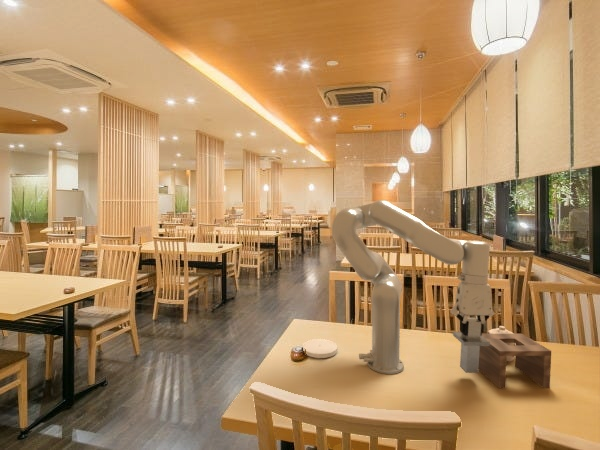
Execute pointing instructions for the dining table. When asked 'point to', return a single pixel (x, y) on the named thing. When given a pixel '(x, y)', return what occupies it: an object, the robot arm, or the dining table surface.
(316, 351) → the plastic lid
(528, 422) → the dining table surface
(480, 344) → the collared peg
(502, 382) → the slotted bridge
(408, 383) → the dining table surface
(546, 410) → the dining table surface
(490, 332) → the teacup with lid
